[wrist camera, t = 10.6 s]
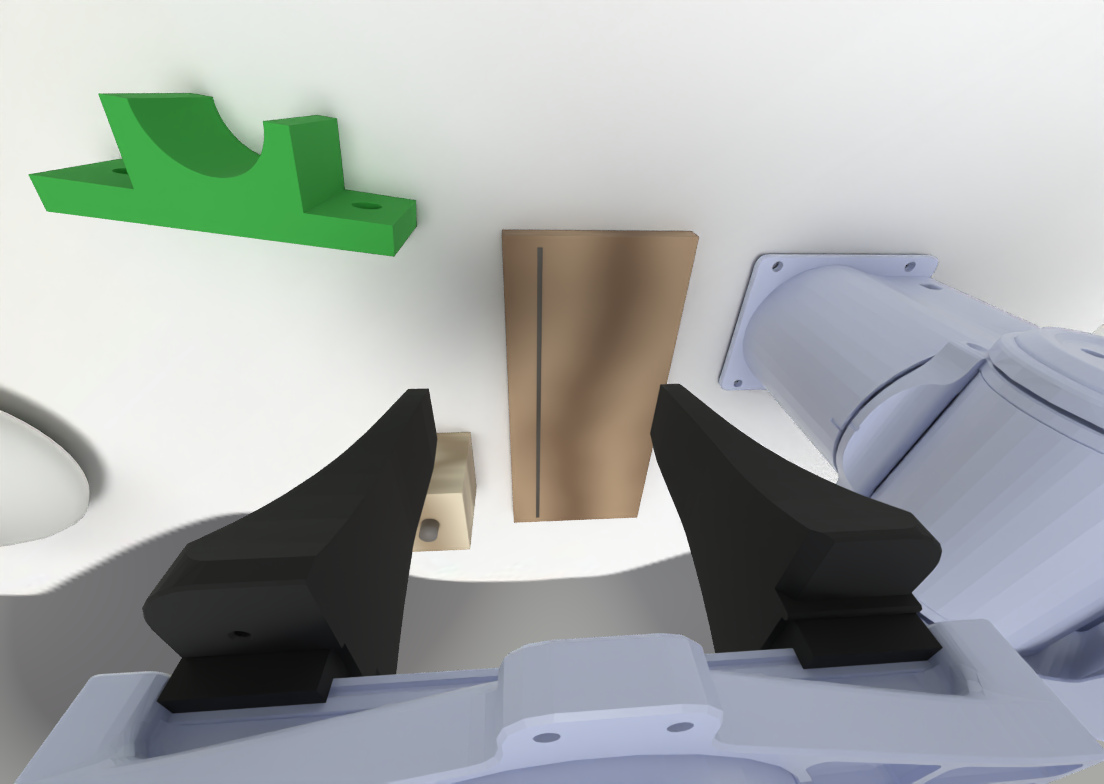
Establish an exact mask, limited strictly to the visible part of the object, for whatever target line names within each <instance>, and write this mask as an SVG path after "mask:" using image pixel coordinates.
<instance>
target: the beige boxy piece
mask: <svg viewBox="0 0 1104 784" xmlns="http://www.w3.org/2000/svg"><path fill="white" fill-rule="evenodd" d="M437 439H438V440H437V448H436V456H435V463H434V469H433V473H432V477H431V480H430V484H429V488H428V492H427V495H426V499H425V502H424V506H423V510H422V513H421V517H420V521H419V524H418V528H417V532H416V536H415V541H414V545H413V551H412V552H420V551H443V550H465V549H470V545H471V535H472V525H473V516H474V506H475V496H476V478H475V469H474V460H473V451H472V443H471V434H470V432H456V433H437Z"/></svg>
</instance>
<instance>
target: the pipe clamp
mask: <svg viewBox="0 0 1104 784" xmlns="http://www.w3.org/2000/svg"><path fill="white" fill-rule="evenodd" d="M99 97H100V100H101V102H102V105H103V108H104V110H105V113H106V116H107V118H108V121H109V124H110V127H111V129H112V132H113V135H114V137H115V140H116V143H117V145H118V148H119V151H120V153H121V156H122V159H116V160H111V161H105V162H99V163H93V164H87V165H81V166H75V167H69V168H64V169H58V170H52V171H46V172H40V173H34V174H28V175H29V177H30V179H31V181H32V183H33V185H34V187H35V189H36V191H37V193H38V195H39V197H40V199H41V201H42V203H43V205H44V207H45V209H46V211H48V212H56V213H64V214H71V215H79V216H87V217H94V218H102V219H110V220H117V221H125V222H133V223H140V224H148V225H156V226H163V227H171V228H179V229H186V230H194V231H202V232H209V233H217V234H225V235H232V236H240V237H248V238H255V239H263V240H271V241H278V242H286V243H294V244H301V245H309V246H317V247H324V248H332V249H340V250H348V251H355V252H363V253H371V254H378V255H386V256H395V255H396V254H397V252H398V251H399V250H400V248H401V247H402V245H403V244H404V243H405V241H406V240H407V239H408V237H409V236H410V235H411V233H412V232H413V231H414V229H415V228H416V227H417V220H416V200H411V199H405V198H398V197H391V196H385V195H378V194H371V193H365V192H358V191H351V190H345V187H344V178H343V169H342V160H341V151H340V142H339V133H338V124H337V118H331V117H326V116H320V115H312V116H304V117H295V118H287V119H278V120H269V121H263V126H264V144H263V149H262V152H261V155H259V154H257V153H255V152H253V151H252V150H250V149H249V148H247V147H246V146H245V145H243V144H242V143H241V142H240V141H239V140H238V139H237V138H236V137H235V136H234V135H233V134H232V133H231V132H230V130H229V129H228V128H227V127H226V125H225V124H224V122H223V120H222V119H221V117H220V115H219V113H218V111H217V109H216V106H215V104H214V100H213V97H210V96H204V95H199V94H193V93H116V94H99Z"/></svg>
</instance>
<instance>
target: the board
mask: <svg viewBox="0 0 1104 784" xmlns="http://www.w3.org/2000/svg"><path fill="white" fill-rule="evenodd" d="M698 240H699V237H698V236H697V235H696V234H695V233H693V232H692V231H599V230H502V251H503V275H504V298H505V322H506V346H507V370H508V393H509V417H510V441H511V465H512V488H513V512H514V523H515V522H539V521H563V520H587V519H611V518H635V517H637V515H638V511H639V506H640V502H641V497H642V493H643V488H644V484H645V479H646V475H647V470H648V466H649V461H650V457H651V452H652V448H653V444H652V440H651V436H650V431H651V427H652V422H653V417H654V412H655V408H656V403H657V398H658V393H659V389H660V384H667V380H668V375H669V371H670V366H671V362H672V357H673V353H674V348H675V344H676V339H677V335H678V330H679V326H680V321H681V317H682V312H683V307H684V303H685V298H686V294H687V289H688V285H689V280H690V276H691V271H692V267H693V262H694V258H695V253H696V249H697V244H698Z"/></svg>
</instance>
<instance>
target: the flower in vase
mask: <svg viewBox="0 0 1104 784" xmlns="http://www.w3.org/2000/svg"><path fill="white" fill-rule="evenodd" d="M88 506H89V484H88V481H87V478H86V476H85V474H84V472H83V471H82V469H81V468H80V466H79V465H78V463H77V462H76V461H75V460H74V459H73V458H72V456H71V455H70V454H68V453H67V452H66V451H65V450H64V449H63V448H62V447H61V446H60V445H58V444H57V443H56V442H54V441H53V440H52V439H51V438H49V437H48V436H46V435H45V434H43V433H42V432H40V431H39V430H37V429H36V428H34V427H32V426H31V425H29V424H27V423H25V422H24V421H22V420H20V419H18V418H16V417H14V416H12V415H10V414H8V413H6V412H3V411H1V410H0V547H1V546H9V545H14V544H19V543H24V542H29V541H34V540H39V539H43V538H46V537H49V536H52V535H54V534H56V533H58V532H60V531H62V530H64V529H66V528H68V527H70V526H72V525H74V524H75V523H77V522H78V521H79V520H80V519H82V518H83V516H84V515H85V513H86V512H87V509H88Z"/></svg>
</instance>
